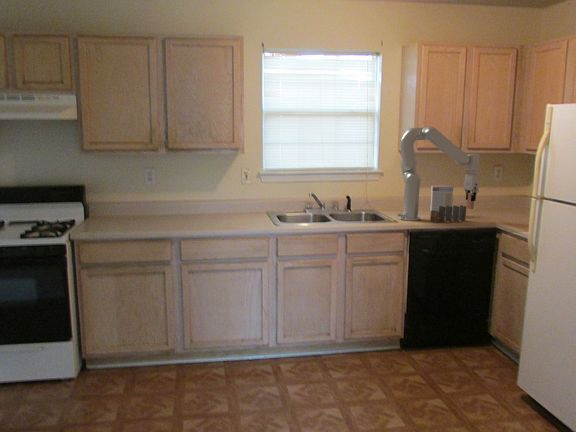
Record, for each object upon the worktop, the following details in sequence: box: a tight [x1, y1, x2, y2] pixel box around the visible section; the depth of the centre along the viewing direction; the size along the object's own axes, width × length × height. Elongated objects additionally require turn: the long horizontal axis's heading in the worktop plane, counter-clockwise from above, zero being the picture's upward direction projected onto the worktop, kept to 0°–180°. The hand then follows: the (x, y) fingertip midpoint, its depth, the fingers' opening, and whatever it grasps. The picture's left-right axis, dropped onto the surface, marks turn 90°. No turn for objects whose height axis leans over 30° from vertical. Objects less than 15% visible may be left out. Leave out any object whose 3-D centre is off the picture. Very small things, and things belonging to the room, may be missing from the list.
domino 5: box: [466, 192, 475, 210], centre depth 336 cm, size 2×5×10 cm, turn 13°
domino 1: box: [439, 206, 446, 223], centre depth 333 cm, size 2×5×10 cm, turn 14°
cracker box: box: [429, 184, 454, 217], centre depth 355 cm, size 14×6×21 cm, turn 84°
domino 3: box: [452, 205, 460, 223], centre depth 335 cm, size 2×5×10 cm, turn 13°
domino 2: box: [445, 206, 453, 223], centre depth 334 cm, size 2×5×10 cm, turn 13°
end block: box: [429, 210, 440, 224], centre depth 332 cm, size 2×7×7 cm, turn 14°
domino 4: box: [459, 204, 467, 222], centre depth 336 cm, size 2×5×10 cm, turn 13°
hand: (470, 200), depth 336 cm, fingers closed on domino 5, 4 cm apart
